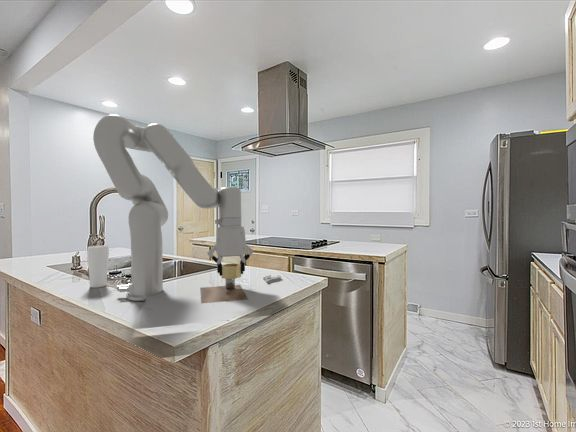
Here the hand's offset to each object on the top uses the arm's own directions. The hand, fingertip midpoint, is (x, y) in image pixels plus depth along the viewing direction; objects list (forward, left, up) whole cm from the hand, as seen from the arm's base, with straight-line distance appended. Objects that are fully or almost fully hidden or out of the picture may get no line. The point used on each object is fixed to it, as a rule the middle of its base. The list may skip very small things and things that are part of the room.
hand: (231, 273), depth 106 cm
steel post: (0, 0, -5) cm, 5 cm away
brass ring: (0, 0, -1) cm, 1 cm away
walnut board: (-3, -5, -7) cm, 9 cm away
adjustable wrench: (+12, +8, -7) cm, 17 cm away
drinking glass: (-47, +22, -7) cm, 52 cm away
